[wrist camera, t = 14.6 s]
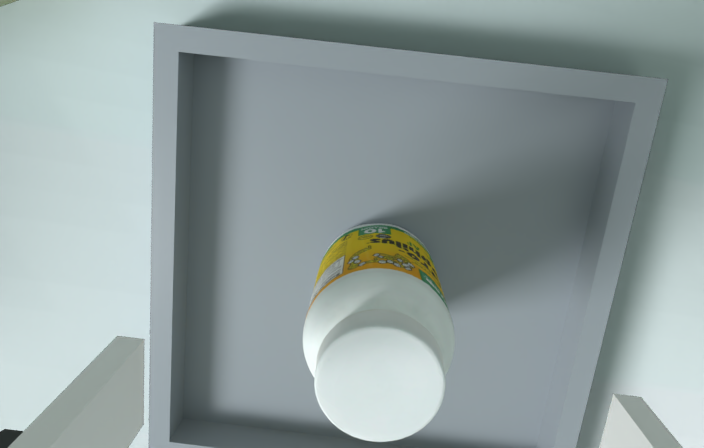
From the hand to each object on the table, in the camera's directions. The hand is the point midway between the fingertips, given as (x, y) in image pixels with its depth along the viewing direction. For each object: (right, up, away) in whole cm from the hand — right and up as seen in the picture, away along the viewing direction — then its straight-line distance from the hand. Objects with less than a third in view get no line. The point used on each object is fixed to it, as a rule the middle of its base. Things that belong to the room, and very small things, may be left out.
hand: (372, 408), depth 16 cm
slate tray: (+1, +3, +11) cm, 11 cm away
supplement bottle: (+1, +3, +11) cm, 11 cm away
